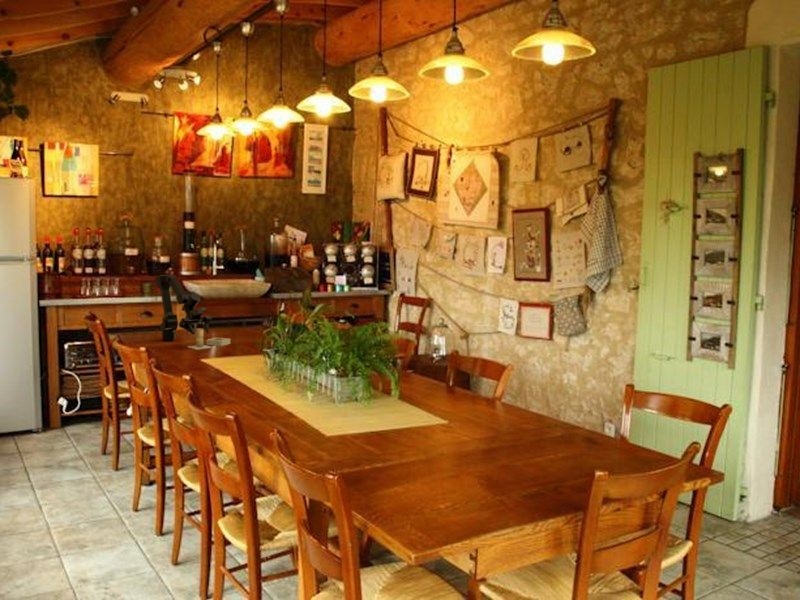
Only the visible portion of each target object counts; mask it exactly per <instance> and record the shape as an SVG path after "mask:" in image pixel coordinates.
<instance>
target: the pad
mask: <svg viewBox="0 0 800 600" xmlns="http://www.w3.org/2000/svg"><path fill="white" fill-rule="evenodd" d="M186 348H189V349H193V350H197V351H198V350H206V349H213V346H211V345H206V344H203V347H196V344H195V345H188V346H187V347H186Z"/></svg>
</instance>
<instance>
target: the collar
mask: <svg viewBox="0 0 800 600" xmlns="http://www.w3.org/2000/svg"><path fill="white" fill-rule="evenodd" d="M230 344H231V338H227V337H225V338H224V337H212V338H209V339H206V344H205V345H206V346H216V347H225V346H228V345H230Z"/></svg>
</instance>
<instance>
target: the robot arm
mask: <svg viewBox="0 0 800 600" xmlns="http://www.w3.org/2000/svg"><path fill="white" fill-rule="evenodd" d="M155 283H156V287H157V288H158V289H159V290H160V294H161V301H162V309H163V316H162V320H161V321H162V322H161V324H160V325H159V330H160V331H161V332H162V333H161V336H162V338H161V341H162V342H173V341H175V340H176V332H175V331H177V330H178V326H179V328H181V329H183V330H186V331H188V333H191V335H196V332H195V330H194V329H193V327H192V324H201V325H202V329H204V332H205V333H207V334H209V332H210V328H209V327H210V323H211V322H212V320H213V318H212V317H211V315H205V316H203V317H202V315H204V314H205V313H206V312H207V311H206V308H205V307H201V308H195V307H197V305H198V303H200V300H201V295H199V294H198V293H196V292H195V291H191V292H188V291H186V290H185V289H184V288H183V287H182V285H181V284H180V282H179V281H178V279H177V276H176V275H174V274H158V275H157V276H156V277H155ZM170 288H171V289H172V290H173V292H174V293H175V295H176V297H175V299H176V302H177V303H178V304H179V305H183V306H182V307H181V312H182V311H184V312H185V315H186V316H185V317H182V318H181V319H180V321H178V315H177V314H175V313H174V312H173V305H172V298H171V292H170Z"/></svg>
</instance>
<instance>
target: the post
mask: <svg viewBox="0 0 800 600" xmlns="http://www.w3.org/2000/svg"><path fill="white" fill-rule="evenodd" d="M195 330H196V331H195V345H196V347H203V345H204V332H205V329H204V328H196V329H195Z"/></svg>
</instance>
